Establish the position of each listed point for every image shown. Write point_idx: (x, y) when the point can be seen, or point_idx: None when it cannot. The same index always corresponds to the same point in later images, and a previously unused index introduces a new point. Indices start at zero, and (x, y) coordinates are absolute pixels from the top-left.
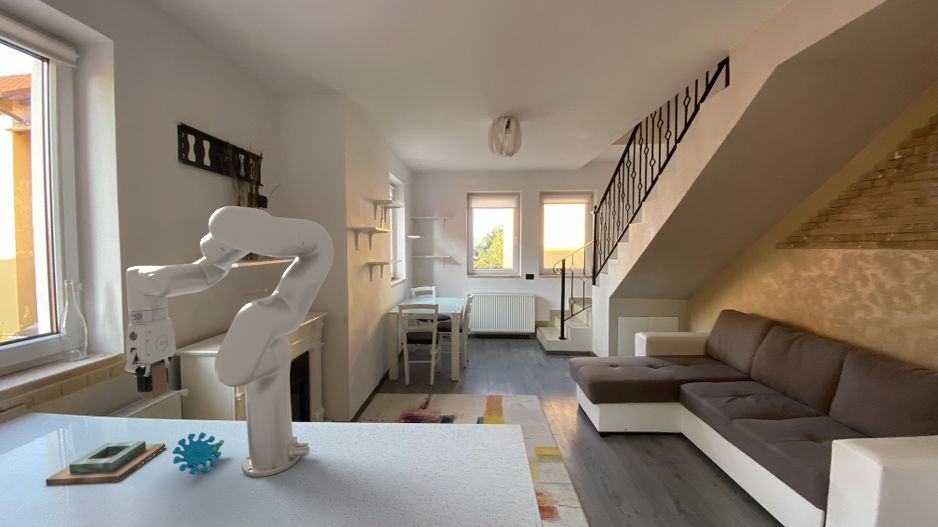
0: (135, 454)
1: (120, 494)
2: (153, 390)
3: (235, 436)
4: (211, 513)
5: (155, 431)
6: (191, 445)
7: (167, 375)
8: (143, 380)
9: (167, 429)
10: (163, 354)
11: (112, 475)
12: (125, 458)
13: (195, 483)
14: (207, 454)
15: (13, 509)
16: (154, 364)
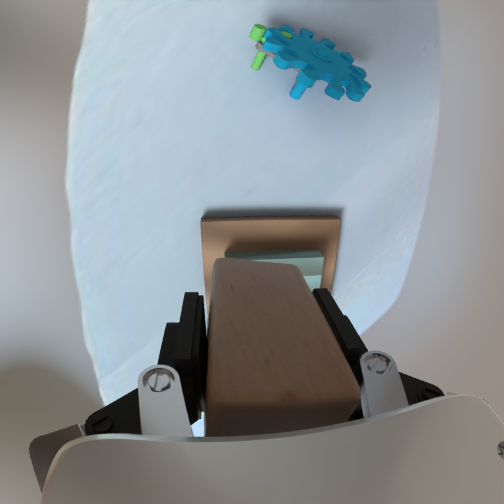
0: (257, 251)
1: (380, 176)
2: (307, 285)
3: (150, 66)
4: (428, 5)
5: (127, 303)
6: (325, 69)
7: (187, 320)
8: (364, 349)
9: (115, 283)
10: (310, 480)
11: (336, 233)
12: (286, 253)
13: (362, 48)
14: (309, 41)
15: (375, 316)
16: (297, 425)
